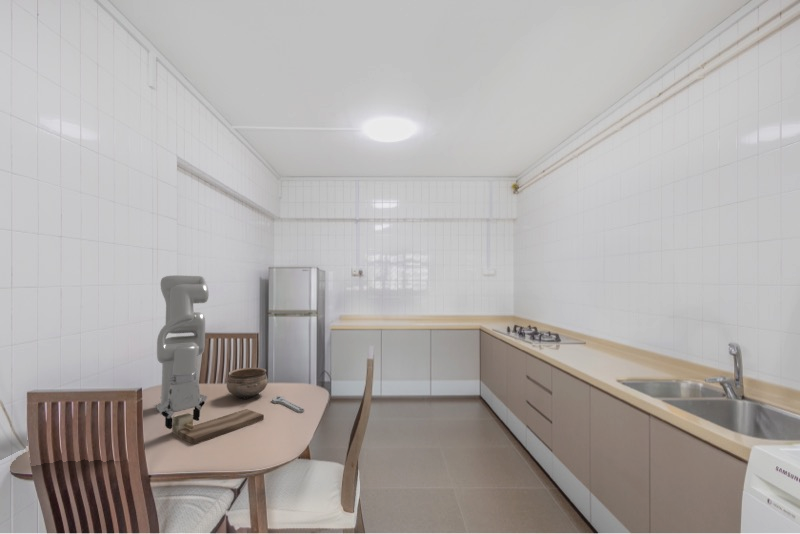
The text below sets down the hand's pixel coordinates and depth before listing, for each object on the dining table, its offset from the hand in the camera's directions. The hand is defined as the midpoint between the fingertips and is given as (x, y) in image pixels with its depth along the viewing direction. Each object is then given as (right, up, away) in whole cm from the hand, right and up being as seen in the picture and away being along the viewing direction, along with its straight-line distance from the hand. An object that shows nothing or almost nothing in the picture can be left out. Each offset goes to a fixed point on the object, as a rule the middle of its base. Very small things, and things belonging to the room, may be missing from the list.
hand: (182, 423), depth 136 cm
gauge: (+1, -3, -1) cm, 4 cm away
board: (+13, -3, +5) cm, 14 cm away
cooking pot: (+6, -5, +43) cm, 44 cm away
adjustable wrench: (+30, -5, +30) cm, 43 cm away
